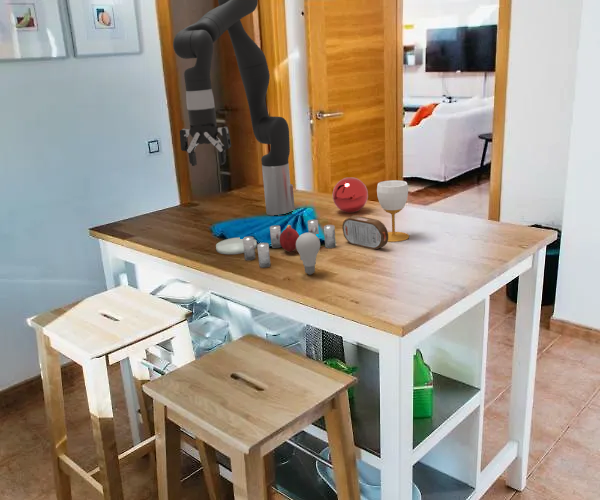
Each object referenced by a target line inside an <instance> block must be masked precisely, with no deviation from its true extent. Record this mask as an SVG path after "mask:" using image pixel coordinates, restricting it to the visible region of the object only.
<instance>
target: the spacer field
mask: <svg viewBox="0 0 600 500" xmlns="http://www.w3.org/2000/svg"><path fill="white" fill-rule="evenodd" d="M307 229H308V230H307V231H308V232H307V233H313V234H315V235H316V234H319V233H320V230H319V220H318V219H309V220H307ZM335 230H336V227H335V225H334V224H326V225H324V226H323V234H324V236H323V237H324V247H325V248H328V249H333V248H336V246H337V245H336V231H335ZM269 231H270V232H269V233H270V234H269V235H270V242H271V248H272V249H280V248H282V246H281V245H280V235H281V233H282V231H281V226H280V225H275V224H274V225H271V226H269ZM319 235H320V234H319ZM254 239H255V238H254V236H244V238H243V247H244V253H243V255H244V260H245V261H254V260H256V248H257V254H258V255H257V257H258V266H259V268H270V267H271V258H270V246H269V243H268V242H260V243H257V247H256V248H254ZM299 258H300V261H303V260H302V257H301V256H300V257H299Z"/></svg>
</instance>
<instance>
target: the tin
mask: <svg viewBox="0 0 600 500" xmlns="http://www.w3.org/2000/svg"><path fill="white" fill-rule="evenodd" d="M388 232H389V231H388V229H387V227H386V226H385V224H384V223H383V222H382V221H381V220H379V219H377V218H372V217H366V216H361V215H356V214H355V215H354V214H353V215H351V216H349V217H348V218H346V219H345V220H343V222H342V234H343V237H344V238H345V240H346V241H347V242H348V243H349V244H351V245H354V246H357V247H362V248H365V249H371V250H378V249H380V248H382V247H385V246H386V245H387V244H388V243H389V242H388Z"/></svg>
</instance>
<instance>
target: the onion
mask: <svg viewBox="0 0 600 500" xmlns="http://www.w3.org/2000/svg"><path fill="white" fill-rule="evenodd" d="M299 236H300V235H299V232H298V231H297V230H296V229H294V228H293V227H292V225H290V224H288V225H287V226H286V228H285V229H283V231H281V235H280V245H281V246H282V247H281V248H282V249H284V250H285V251H287V253H288V252H289V253H293V252H294V251H295V250H297V249H296V241H297V239H298V237H299Z"/></svg>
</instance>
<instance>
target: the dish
mask: <svg viewBox="0 0 600 500" xmlns="http://www.w3.org/2000/svg"><path fill="white" fill-rule="evenodd" d="M253 239H254V248H255V249H256V248H257V244H258V243H257V240H256V239H255V238H253ZM215 247H216V248H215V249H216V250H215V251H216V253H219V254H222V255H241V254H244V247H243V239H240V237H231V238H228V239H227V238H226V239H224V240H221V241H219V242H218V243H216V245H215Z"/></svg>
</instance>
